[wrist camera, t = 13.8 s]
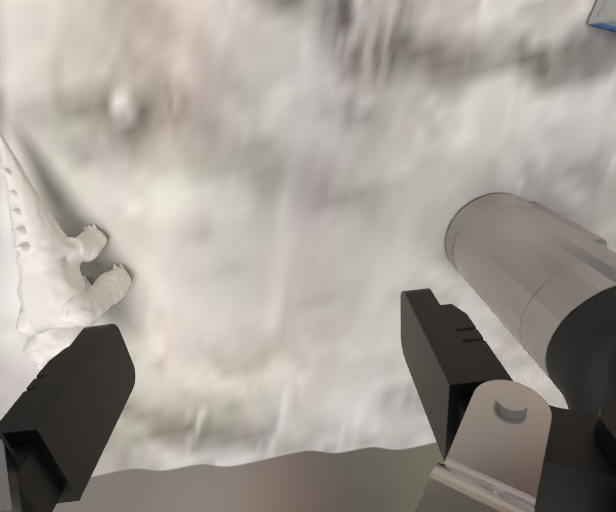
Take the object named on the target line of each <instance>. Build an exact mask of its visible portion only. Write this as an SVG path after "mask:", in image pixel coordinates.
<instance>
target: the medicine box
mask: <svg viewBox="0 0 616 512" xmlns="http://www.w3.org/2000/svg"><path fill="white" fill-rule="evenodd" d="M588 24H589V25H593V26H596V27H600V28H604V29H607V30H611V31H615V32H616V0H597V2H596V4H595V7H594V9H593V11H592V14H591V16H590V18H589V21H588Z"/></svg>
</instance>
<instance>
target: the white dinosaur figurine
mask: <svg viewBox="0 0 616 512" xmlns="http://www.w3.org/2000/svg"><path fill="white" fill-rule="evenodd" d="M0 154H1V164H2V169H1V171H0V172H1V174H2V175H4V180H5V185H6V189H7V199H8V204H9V211H10V219H11V223H12V231H13V234H14V242H15V248H16V250H17V264H18V267H19V270H20V281H19V286H18V296H19V299H20V302H21V306H22V307H21V308H20V311H19V317H18V321H17V325H16V330H17V331H18V332H19V333H20V334H23V335H25V336H27V337H29V338H28V339H27V341H26V344H25V346H24V349H23V352H24V353H25V354H26V356H27V358H28V359H30V360H31V361H32V362H35V363H36V367H37V369H39V370H42V369H43V367H44V366H45V365H46V364H47V362H48V361H49V360H51V359H52V358H53V357H54V356H56V355H57V354H58V353H60V352H61V351H62V350H63V349H65V348H66V347H69V346H70V345H71V343H72V342H73V341H74V339H75V338H76V337H77V336H78V334H79V333H80V332H81V330H82V329H83V328H85V327H91V326H92V325H93V324H94V323H95V322H96V321H97V320H98V318H99V317H100V316H101V315H102V314H104V313H105V312H106V311H107V310H108V309H109V308H110V306H112V305H114V304H116V303H117V302H118V301H120V300H121V299H122V298H123V297H124V296H125V294H126V293H127V291H128V289H129V288H130V286H131V278H130V276H129V274H128V273H127V272H126V270H125V268H124V267H123V265H122V264H120V266H119V267H117V266H116V265H115V264H113V268H112V269H110V271H108V272H104V273H103V274H101V275H100V276H99V277H98V278H97V279H96V280H95V282H94V284H93V285H91V283H90V282H89V281H88V280H87V278H86V276H85V275H84V276H82V275H81V270H80V265H81V262H90V261H92V260H94V259H95V258H96V257H97V256H98V255H99V253H100V252H101V251H102V249H103V247H104V246H105V245H106V243H107V239H106V237H105V235H104V234H103V233H102V232H101V231H99V230H98V229H97V227H96V226H95V224H93V225H92V227H91V226H90V225H88V227H84V231H83V232H82V233H81V234H80V235H78V236H76V237H75V238H74V237H67V235H66V234H65V233H64V232H63V231H62V230H61V228H60V227H59V225H58V224H57V223H56V221H55V220H54V219H53V217H52V216H51V214H50V213H49V211H48V209H47V208H46V205H45V203H44V202H43V200H42V199H41V197H40V195H39V194H38V192H37V191H36V190H35V188H34V187H33V185H32V184H31V182H30V180H29V179H28V177H27V175H26V174H25V172H24V170H23V168H22V166H21V165H20V163H19V161H18V159H17V158H16V157H15V155H14V153H13V152H12V150H11V149H10V147H9V145H8V144H7V142H6V141H5V139H4V138H3V136H2V134H1V133H0Z"/></svg>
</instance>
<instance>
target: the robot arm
mask: <svg viewBox="0 0 616 512" xmlns="http://www.w3.org/2000/svg"><path fill="white" fill-rule="evenodd" d="M445 245H446V253H447V255H448V258H449V260H450V261H451V263H452V264H453V266H454V267H455V268H456V269H457V270H458V272H459V273H460V274H461V275H462V276H463V277H464V279H465V280H466V281H467V282H468V284H469V285H470V286H471V287H472V288H473V289H474V291H475V292H476V293H477V294H478V295H479V296H480V298H481V299H482V300H483V301H484V302H485V303H486V305H487V306H488V307H489V308H490V309H491V310H492V312H493V313H494V314H495V315H496V316H497V317H498V319H499V320H500V321H501V322H502V323H503V324H504V326H505V327H506V328H507V329H508V330H509V331H510V333H511V334H512V335H513V336H514V337H515V338H516V340H517V341H518V342H519V343H520V344H521V345H522V347H523V348H524V349H525V350H526V351H527V352H528V354H529V355H530V356H531V357H532V358H533V359H534V361H535V362H536V363H537V364H538V365H539V366H540V368H541V369H542V370H543V371H544V372H545V373H546V375H547V376H548V377H549V378H550V379H551V380H552V382H553V383H554V384H555V385H556V387H557V388H558V389H559V390H560V392H561V393H562V394H563V396H564V398H565V400H566V403H567V405H568V408H569V409H562V408H557V407H553V406H550V405H548V404H547V402H546V401H545V400H544V399H543V398H542V397H541V396H540V395H539V394H538V393H537V392H536V391H534V390H532V389H531V388H529V387H527V386H525V385H523V384H520V383H517V382H513V380H512V379H511V377H510V376H509V374H508V373H507V372H506V370H505V369H504V367H503V366H502V364H501V363H500V361H499V360H498V359H497V357H496V356H495V354H494V353H493V351H492V350H491V348H490V347H489V346H488V344H487V343H486V341H484V340H483V337H482V335H481V334H480V333H479V331H478V330H476V327H475V325H474V324H473V322H472V321H471V320H470V318H469V317H468V315H467V314H466V313H464V312H463V311H461V310H460V309H458V308H457V307H455V306H454V305H452V304H447V305H440V304H439V303H438V301H437V299H436V298H435V296H434V294H433V293H432V291H431V290H430V289H429V288H428V289H419V290H410V291H402V293H401V342H402V349H403V353H404V357H405V360H406V363H407V365H408V368H409V371H410V373H411V376H412V378H413V381H414V384H415V386H416V389H417V391H418V394H419V397H420V399H421V402H422V405H423V407H424V410H425V412H426V415H427V418H428V420H429V423H430V426H431V428H432V431H433V433H434V436H435V439H436V441H437V444H438V446H439V449H440V452H441V454H442V457H443V459H444V464H440V463H438V464H437V465H436V466H435V468H434V470H433V471H432V473H431V475H430V478H429V480H428V482H427V484H426V487H425V489H424V491H423V494H422V496H421V498H420V501H419V503H418V505H417V508H416V510H415V512H616V253H615V252H613V251H611V250H609V249H608V248H606V247H607V244H606V241H605V240H604V239H603V238H601V237H599V236H598V235H596V234H594V233H592V232H590V231H588V230H587V229H585V228H583V227H581V226H579V225H577V224H576V223H574V222H572V221H570V220H568V219H566V218H565V217H563V216H561V215H559V214H557V213H556V212H554V211H552V210H550V209H548V208H546V207H545V206H543V205H541V204H539V203H537V202H532V203H527V202H525V201H524V200H522V199H520V198H518V197H517V196H513V195H510V194H504V193H496V194H489V195H486V196H483V197H480V198H478V199H476V200H474V201H472V202H470V203H469V204H468V205H467V206H465V207H464V208H463V209H462V210H461V211H460V212H459V213H458V214H457V215H456V216H455V218H454V219H453V221H452V223H451V224H450V226H449V229H448V232H447V235H446V242H445ZM134 383H135V369H134V365H133V362H132V360H131V357H130V355H129V352H128V350H127V347H126V345H125V342H124V340H123V337H122V335H121V332H120V330H119V328H118V327H117V326H116V325H114V324H109V325H100V326H91V327H85V328H83V329H82V330H81V332H80V333H79V334H78V336H77V337H76V338H75V339H74V341H73V342H72V343H71V345H70V346H69V347H66V348H65V349H63V350H62V351H61V352H60V353H58V354H57V355H56V356H54V357H53V358H52V359H51V360H49V361H48V362H47V364H46V365H45V366H44V367H43V369H42V370H41V371H40V372H39V374H38V375H37V379H34V380H33V381H32V382H31V383H30V385H29V386H28V387H27V391H25V392H23V393H22V395H21V396H20V397H19V398H18V400H17V401H16V402H15V403H14V405H13V406H12V407H11V408H10V410H9V411H8V412H7V413H6V415H5V416H4V417H3V418H2V420H1V421H0V512H52V511H53V510H54V508H55V506H56V504H57V503H62V502H72V501H79V500H80V498H81V496H82V494H83V492H84V490H85V488H86V486H87V483H88V481H89V479H90V477H91V475H92V473H93V471H94V469H95V467H96V465H97V463H98V461H99V458H100V456H101V454H102V452H103V450H104V448H105V446H106V444H107V442H108V440H109V438H110V436H111V433H112V431H113V429H114V427H115V425H116V423H117V421H118V419H119V417H120V415H121V413H122V411H123V408H124V406H125V404H126V402H127V400H128V398H129V396H130V394H131V392H132V390H133V387H134Z"/></svg>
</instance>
